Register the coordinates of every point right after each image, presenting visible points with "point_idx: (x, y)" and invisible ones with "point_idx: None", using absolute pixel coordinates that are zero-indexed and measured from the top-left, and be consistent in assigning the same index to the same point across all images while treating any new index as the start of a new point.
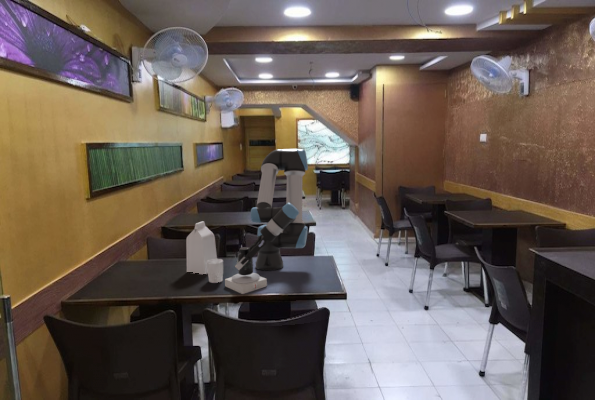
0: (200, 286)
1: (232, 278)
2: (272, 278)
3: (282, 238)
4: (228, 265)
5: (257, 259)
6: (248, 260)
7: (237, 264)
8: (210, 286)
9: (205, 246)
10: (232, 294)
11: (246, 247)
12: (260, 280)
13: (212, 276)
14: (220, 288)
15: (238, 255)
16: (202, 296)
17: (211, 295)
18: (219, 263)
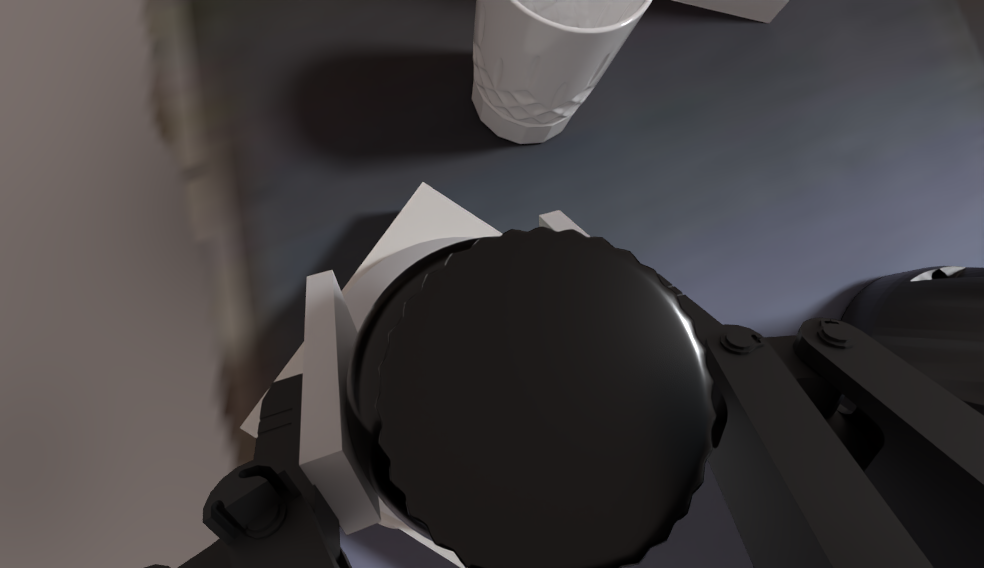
0: (387, 35)
1: (392, 260)
2: (689, 530)
3: None
4: (835, 74)
5: (948, 293)
6: (346, 529)
7: (308, 315)
8: (400, 102)
9: None
10: (251, 335)
11: (669, 408)
12: (447, 552)
13: (474, 57)
14: (372, 189)
15: (430, 262)
16: (178, 120)
17: (208, 178)
18: (527, 21)
